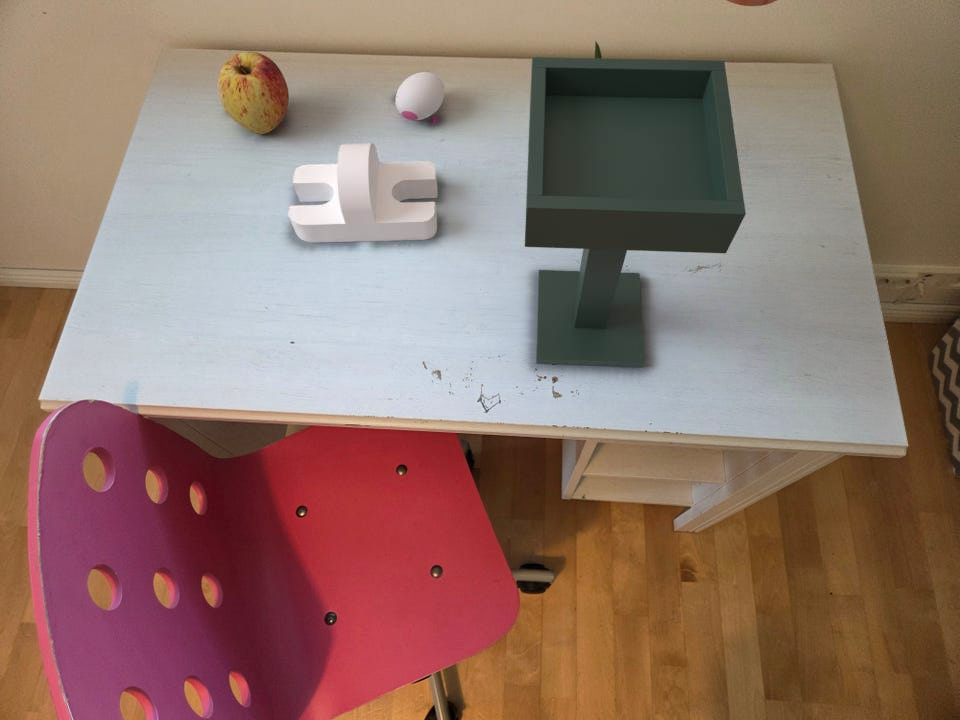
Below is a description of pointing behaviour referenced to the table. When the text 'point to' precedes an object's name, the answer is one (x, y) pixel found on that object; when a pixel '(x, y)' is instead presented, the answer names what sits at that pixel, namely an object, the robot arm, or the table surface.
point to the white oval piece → (420, 96)
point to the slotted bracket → (364, 198)
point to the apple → (253, 91)
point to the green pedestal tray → (623, 189)
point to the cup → (752, 2)
